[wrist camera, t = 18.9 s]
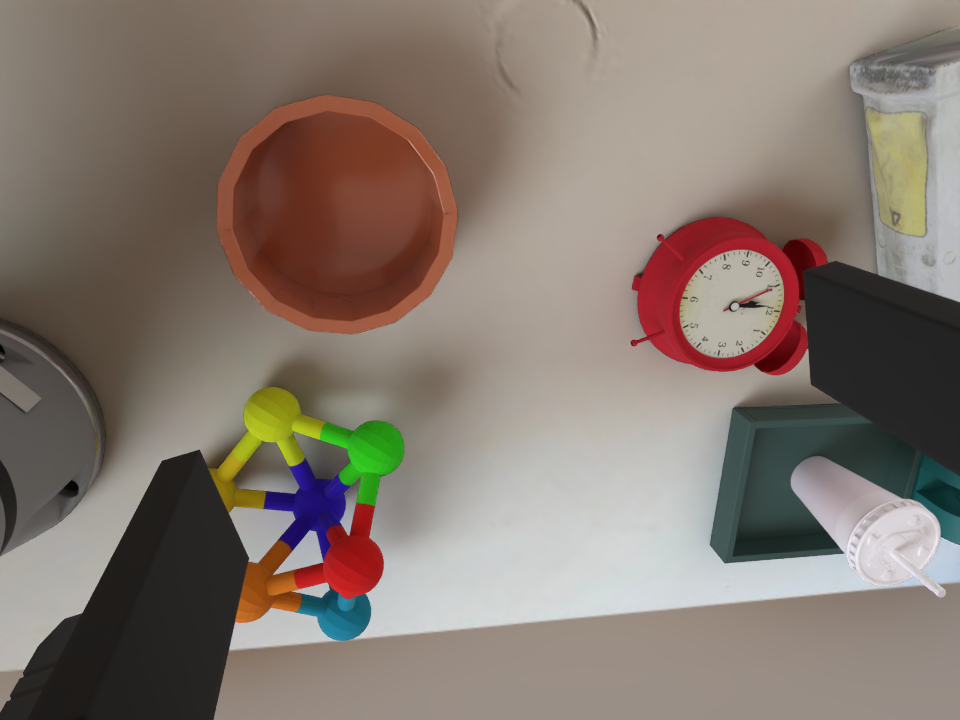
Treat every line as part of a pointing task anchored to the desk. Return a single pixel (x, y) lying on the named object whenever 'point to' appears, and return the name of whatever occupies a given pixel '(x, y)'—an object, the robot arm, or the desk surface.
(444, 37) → the desk surface
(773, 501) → the tray
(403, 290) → the pot
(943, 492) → the bracket
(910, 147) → the white coffee bag
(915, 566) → the smoothie
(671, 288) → the alarm clock
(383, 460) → the molecular model
